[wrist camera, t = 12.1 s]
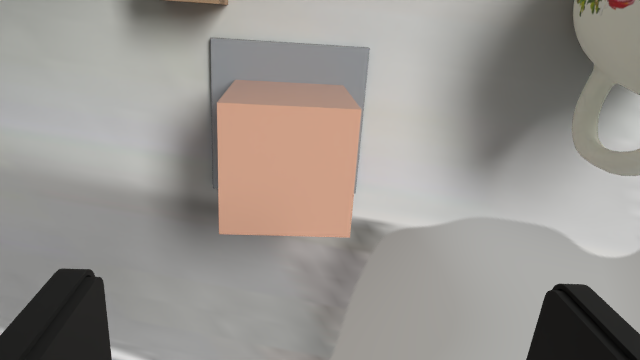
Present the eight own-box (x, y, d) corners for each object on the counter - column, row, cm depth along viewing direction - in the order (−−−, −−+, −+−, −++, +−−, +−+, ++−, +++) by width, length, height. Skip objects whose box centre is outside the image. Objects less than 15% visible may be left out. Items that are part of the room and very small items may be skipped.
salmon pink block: (235, 79, 29) (216, 102, 22) (343, 85, 30) (361, 109, 23) (235, 181, 32) (218, 234, 24) (335, 185, 32) (349, 237, 25)
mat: (211, 37, 29) (210, 38, 29) (368, 47, 30) (369, 48, 29) (213, 186, 32) (212, 188, 32) (354, 191, 33) (355, 193, 33)
